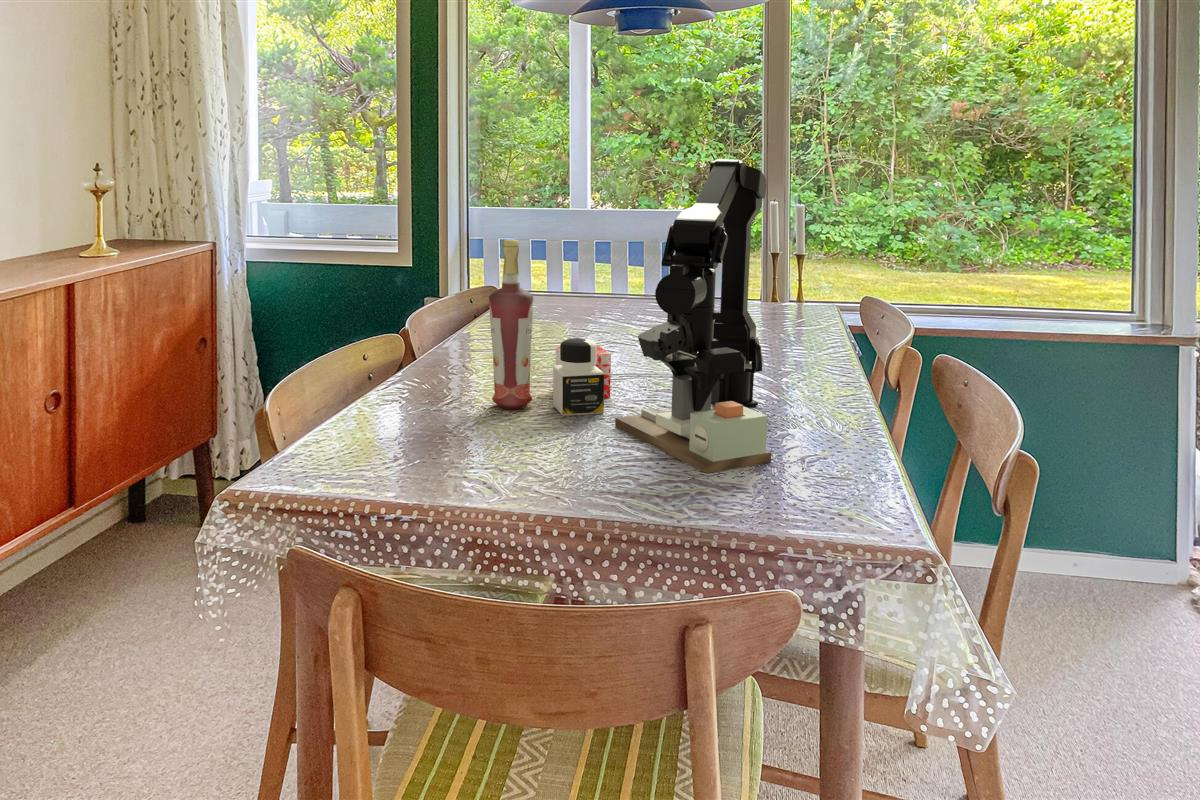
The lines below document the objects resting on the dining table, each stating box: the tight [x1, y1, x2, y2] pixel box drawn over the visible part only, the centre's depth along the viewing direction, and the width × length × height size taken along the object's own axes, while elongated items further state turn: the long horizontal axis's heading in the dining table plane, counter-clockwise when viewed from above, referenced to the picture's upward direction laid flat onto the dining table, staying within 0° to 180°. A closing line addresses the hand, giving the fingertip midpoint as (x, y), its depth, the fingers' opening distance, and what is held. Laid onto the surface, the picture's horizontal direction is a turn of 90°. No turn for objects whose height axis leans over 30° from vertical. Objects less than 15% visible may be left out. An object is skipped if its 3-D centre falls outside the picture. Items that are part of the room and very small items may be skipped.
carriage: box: [656, 375, 712, 439], centre depth 156 cm, size 8×7×8 cm
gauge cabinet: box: [689, 406, 769, 462], centre depth 149 cm, size 9×6×6 cm, turn 118°
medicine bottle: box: [552, 337, 605, 417], centre depth 175 cm, size 7×7×12 cm
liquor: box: [488, 239, 534, 411], centre depth 175 cm, size 7×7×28 cm
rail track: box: [614, 407, 772, 474], centre depth 158 cm, size 11×26×2 cm, turn 28°
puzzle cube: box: [555, 344, 612, 399], centre depth 187 cm, size 8×8×8 cm
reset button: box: [714, 401, 743, 419], centre depth 148 cm, size 3×3×4 cm
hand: (691, 408), depth 157 cm, fingers closed on carriage, 3 cm apart
